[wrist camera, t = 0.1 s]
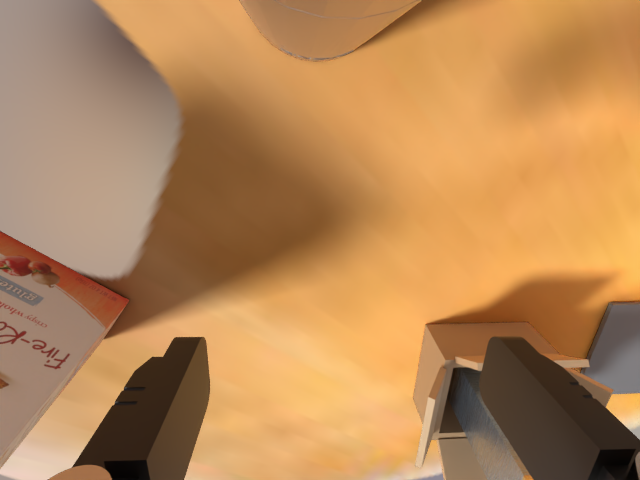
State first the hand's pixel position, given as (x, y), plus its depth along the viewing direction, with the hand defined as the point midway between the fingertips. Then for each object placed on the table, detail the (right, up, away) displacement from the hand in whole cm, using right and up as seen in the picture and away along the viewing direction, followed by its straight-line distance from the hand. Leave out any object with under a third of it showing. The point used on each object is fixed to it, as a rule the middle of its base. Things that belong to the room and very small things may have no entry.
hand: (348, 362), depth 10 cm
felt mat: (+31, -7, +24) cm, 40 cm away
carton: (+13, -8, +23) cm, 28 cm away
